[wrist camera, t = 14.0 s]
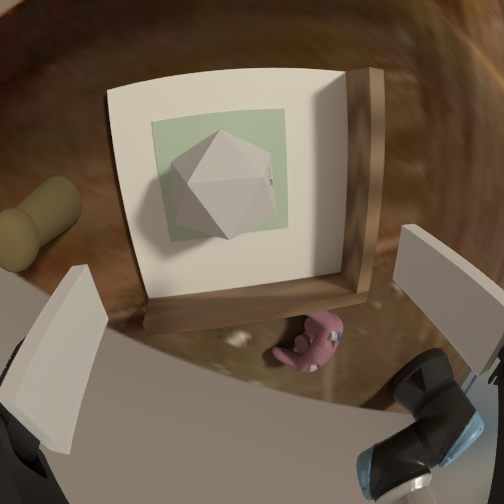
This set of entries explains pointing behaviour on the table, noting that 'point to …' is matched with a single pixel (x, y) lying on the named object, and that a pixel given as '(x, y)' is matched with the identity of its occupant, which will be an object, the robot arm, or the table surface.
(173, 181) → the die
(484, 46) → the table surface
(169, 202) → the wooden corner tray
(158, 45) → the table surface
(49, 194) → the olive pawn figure
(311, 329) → the video game controller
